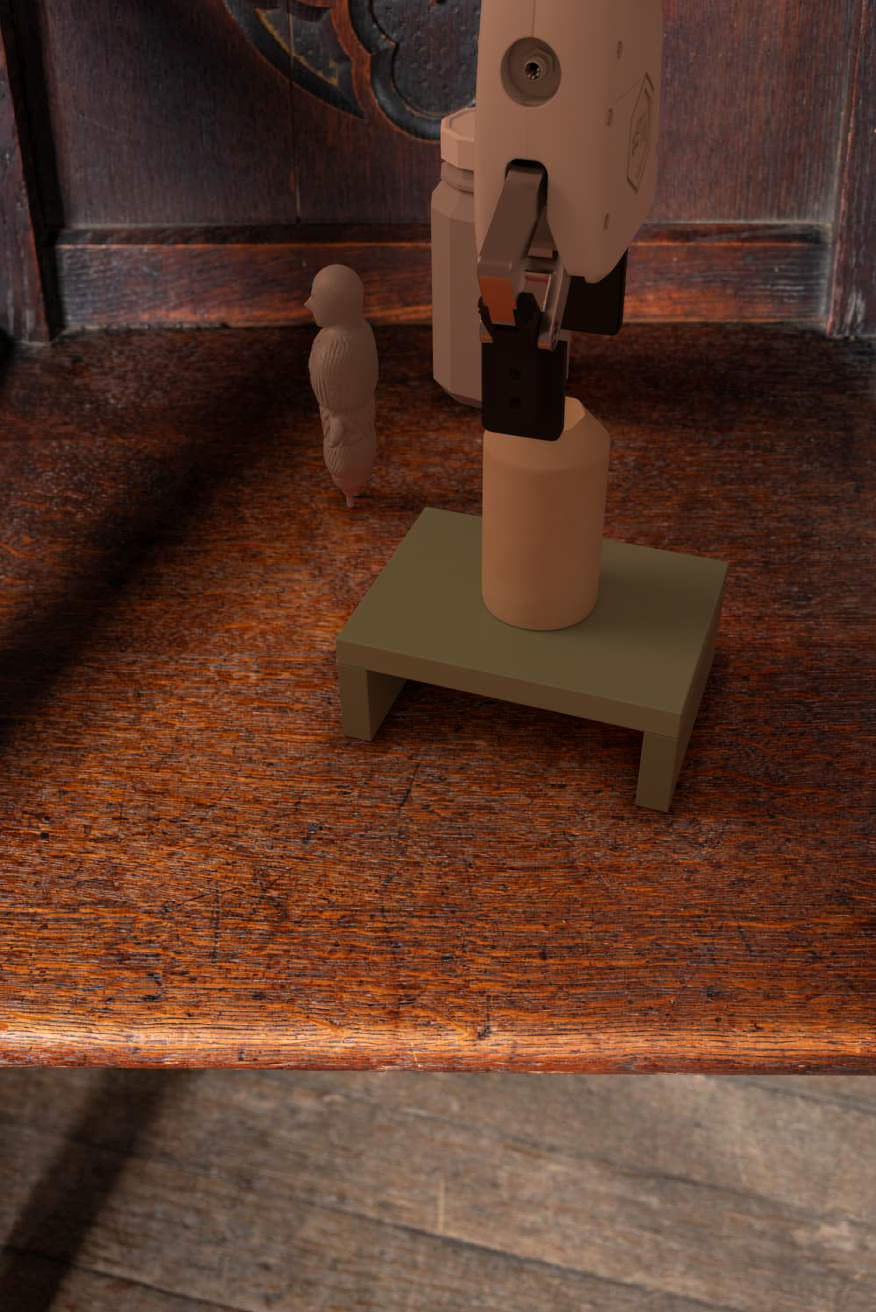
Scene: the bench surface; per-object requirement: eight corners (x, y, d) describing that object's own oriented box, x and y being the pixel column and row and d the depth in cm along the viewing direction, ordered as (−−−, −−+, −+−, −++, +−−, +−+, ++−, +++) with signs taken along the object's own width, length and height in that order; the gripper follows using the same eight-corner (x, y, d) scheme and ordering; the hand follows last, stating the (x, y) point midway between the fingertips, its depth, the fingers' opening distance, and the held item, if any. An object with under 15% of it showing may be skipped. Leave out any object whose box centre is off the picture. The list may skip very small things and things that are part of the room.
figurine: (340, 460, 82) (323, 233, 73) (399, 466, 81) (390, 237, 72) (298, 539, 75) (274, 298, 65) (362, 546, 74) (347, 303, 65)
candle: (548, 648, 57) (559, 453, 50) (457, 600, 60) (456, 410, 53) (620, 594, 60) (639, 404, 54) (531, 551, 63) (538, 366, 57)
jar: (586, 407, 87) (605, 138, 76) (449, 424, 86) (448, 152, 74) (545, 348, 95) (556, 95, 83) (418, 362, 93) (413, 106, 82)
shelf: (714, 656, 66) (729, 561, 62) (667, 813, 57) (681, 713, 53) (427, 597, 70) (425, 505, 66) (342, 735, 61) (334, 638, 57)
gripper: (624, -31, 35) (591, 498, 46) (731, -127, 47) (685, 306, 58) (372, -43, 37) (398, 466, 48) (538, -131, 49) (529, 287, 60)
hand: (556, 378), depth 53 cm, fingers open, 9 cm apart
